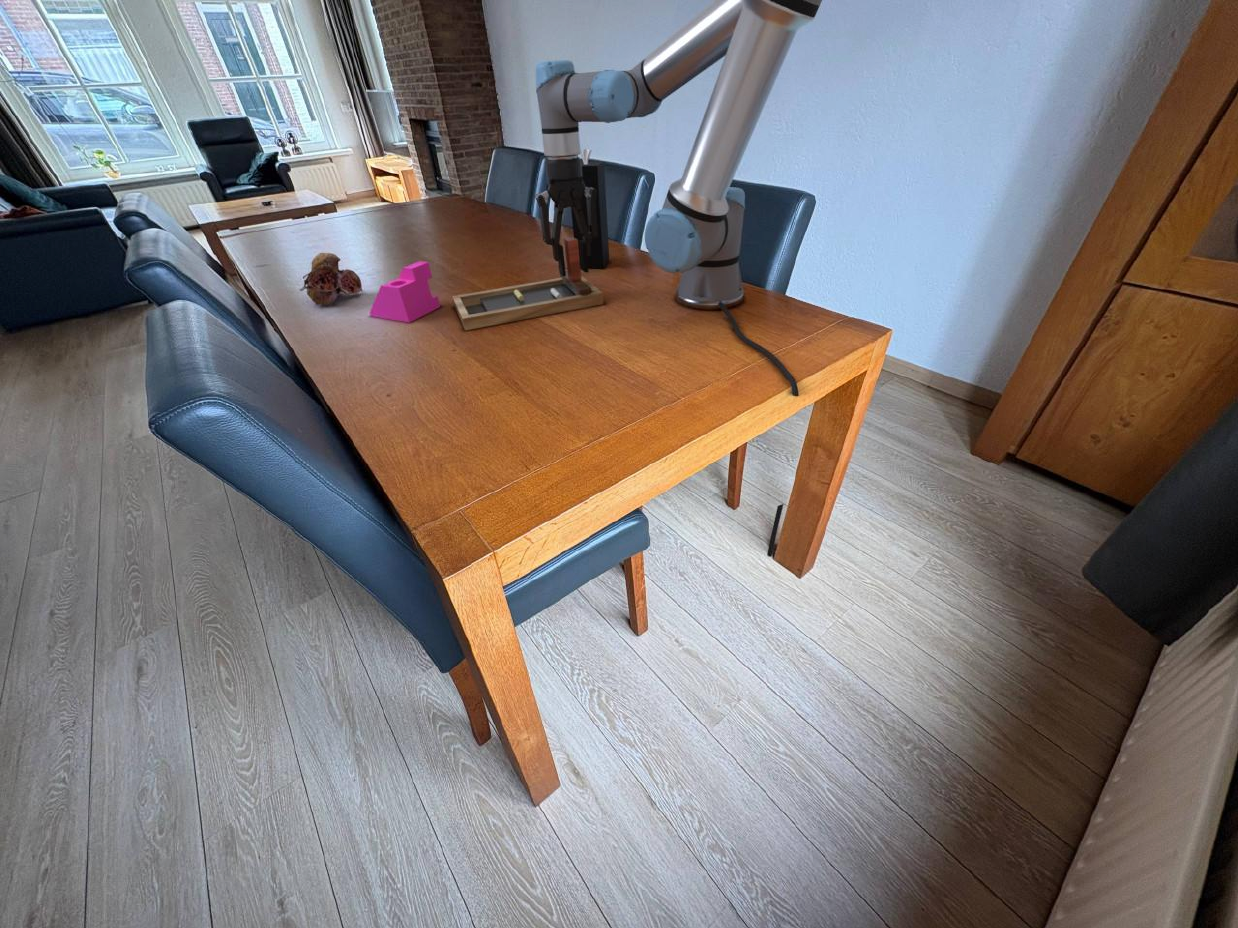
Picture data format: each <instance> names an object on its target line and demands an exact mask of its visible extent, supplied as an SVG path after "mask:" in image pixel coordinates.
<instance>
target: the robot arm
mask: <svg viewBox="0 0 1238 928" xmlns="http://www.w3.org/2000/svg"><path fill="white" fill-rule="evenodd" d="M822 2H823V0H714V1H712V3H710V4H709V5H708V6H707V7H706V8H704V9H703V10H702V11H701V12H700V13H698V14H697V15H696V16H695V17H694V18H692V19H691V20H690V21H689V22H687V23H686V24H685V25H684V26H683V27H681V28H680V29H679V30H678V31H676V32H675V33H674V34H673V35H672V36H670V37H669V38H668V39H667V40H665V41H664V42H663V43H662V44H660V45H659V46H658V47H657V48H655V49H654V50H653V51H652V52H650V54H648V55H647V56H646V57H645V58H644V59H643V60H641V61H639V62H638V64H636V65H635V66H634V67H632V68H631V69H629V70H615V69H604V70H599V71H590V72H589V71H588V72H580V73H579V72H576V71H575V65H574V63H573V61H571V60H551V61H550V60H547V61H540V62H538V63H537V64H536V65H535V71H534V72H535V86H536V87H535V93H536V98H537V103H538V111H539V119H540V126H541V137H542V145H543V154H544V156H545V157H547V158H546V159H545V161H544V163H545V172H546V180H547V181H546V182H547V185H546V188H545V190H544V191H542V192H540V193H536V194H535V195H534V198H535V200H536V203H537V205H538V209H539V218H540V225H541V233H542V241H543V243H545V244H546V245H549V246H551V249H552V257H553V260H554V261H555V262H557V265H558V271H559V275H560V274H561V275H562V276H566V271H567V270H566V264H565V263H566V261H565V254H564V253H565V251H564V246H563V245H562V244H561V235H562V234H561V233H562V224H563V215H564V212H565V209H567V208H571V207H572V209H573V210H574V213H575V217H576V220H577V223H578V226H579V229H580V232H581V236H582V238H583V240H581V241H579V243H580V254H581V266H582V268H581V270H582V271H583V272H584V273H589V268H588V258H587V256H590V255H591V247H590V242H591V241H592V239H593V238H596V237H597V236H598V232H597V218H596V204H595V200H596V195H597V190H596V189H594V188H592V187H590V188H589V187H585V184H584V182H583V177H582V163H581V162H582V158H581V156H579V155H581V154H580V153H581V149H582V148H581V141H580V139H581V138H580V128H579V127H580V125H579V123H605V124H610V123H616V122H623V121H624V120H626V119H630V118H631V119H632V118H645V117H647V116H649V115H652V114H654V113H656V112H657V111H658V110H659V108H660V107H661V105H662V102H663V101H664V100H665V99H667V98H668V97H670V96H671V95H673V94H674V93H675V92H676V91H679V89H680V88H682V87H684V86H685V85H686V84H689V82H690V81H692V80H693V79H695V78H696V77H698V76H699V75H700V74H702V73H703V72H705V71H706V70H708V69H709V68H710V67H712V66H713V65H715V64H716V63H717V62H719V61H721V59H723V58H724V59H723V62H722V64H721V67H720V70H719V72H718V75H717V78H716V81H715V84H714V86H713V89H712V93H711V95H710V98H709V100H708V104H707V106H706V109H705V111H704V115H703V117H702V120H701V123H700V126H699V129H698V131H697V134H696V136H695V139H694V142H693V144H692V148H691V150H690V154H689V156H688V159H687V162H686V165H685V167H684V170H683V173H682V176H681V177H680V178H679V179H677V180H675V181H673V182H672V183H671V184H670V185H669V188H668V190H667V193H666V196H665V199H664V202H663V205H662V208H661V209H659V210H658V211H656V212H654V213H653V215H652V216H651V217H650V218H649V220H648V222H647V224H646V225H645V231H644V244H645V248H646V250H647V251H648V254H649V257H650V259H651V261H652V262H653V263H654V264H655V265H656V266H657V267H658V268H659V269H661V270H662V271H664V272H667V273H669V274H681V273H682V274H681V276H680V279H679V282H678V284H677V286H676V290H675V292H676V301H677V302H678V303H680V304H681V305H682V306H685V307H688V308H691V309H695V310H706V311H707V310H712V311H713V310H714V311H715V310H716V311H717V310H722V312H723V313H724V315H725V316H726V318H727V319H728V320H729V322H730V324H731V325H732V328H733V330H734V332H735V334H736V336H737V337H738V339H739V340H741V341H742V342H743V343H744V344H746V345H748V346H749V347H751V348H753V349H754V350H756V351H758V352H760V353H761V354H763V355H764V356H765V357H767V358H768V359H769V360H770V361H771V362H772V363H773V364H774V365H775V366H776V367H777V368H778V370H779V371H780V372H781V374H782V375H783V376H784V378H786V379H787V380H788V381H789V383H790V387H791V394H792V396H793V397H799V387H798V383H797V381H796V378H795V377H794V376H793V375H792V374H791V373H790V372H789V370H788V369H787V368H786V366H785V365H784V364H783V363H782V362H781V360H780V359H778V358H777V357H776V356H775V355H774V354H773V353H772V352H771V351H770V350H768V349H767V348H765V347H763V346H762V345H760V344H758V343H757V342H755V341H753V340H751V339H750V338H748V337H747V336H746V335H744V334H743V332H742V331H741V330H740V328H739V325H738V323H737V321H736V319H735V318H734V316H733V315H732V314H731V312H730V311H729V308H733V307H736V306H738V305H739V304H741V303H742V302H743V300H744V294H745V293H744V292H745V290H744V285H743V281H742V275H741V269H740V267H739V266H740V265H739V262H740V253H741V242H742V233H743V224H744V216H745V209H746V202H745V201H746V195H745V194H746V193H745V191H744V190H743V188H740V187H735V186H734V187H733V186H732V187H731V185H732V182H733V180H734V177H735V176H736V173H737V171H738V169H739V166H740V164H741V162H742V160H743V157H744V154H745V152H746V150H747V148H748V145H749V143H750V141H751V138H752V136H753V133H754V131H755V129H756V127H757V124H758V122H759V121H760V120H759V119H760V118H761V115H762V113H763V111H764V109H765V106H766V104H767V102H768V100H769V97H770V94H771V92H772V90H773V88H774V85H775V84H776V81H777V79H778V76H779V74H780V71H781V69H782V67H783V64H784V62H785V60H786V57H787V55H788V53H789V51H790V48H791V46H792V43H793V41H794V39H795V37H796V34H797V32H798V31H799V30H800V29H802V28H803V27H804V26H806V25H808V24H810V23H811V22H813V21H814V20H815V17H816V15H817V13H818V11H819V10H820V9H819V8H820V6H821V4H822ZM584 192H585V197H586V198H587V213H588V225H589V232H588V228H587V225H586V222H585V219H584V215H583V212H582V207H581V203H580V199H581V197H582V195H583V193H584ZM549 198H550V200H552V202H553V203H554V204H553V221H552V228H551V227H550V219H549V218H550V217H549V209H548V203H549ZM551 229H552V230H551ZM783 509H784V503H782V504H779V505H777V507H776V512H775V517H774V520H773V525H772V529H771V534H770V539H769V543H768V547H767V548H768V549H767V553H766V555H767V557H769V558H770V557H772V556H773V552H774V547H775V543H776V538H777V533H778V530H779V525H780V521H781V516H782V512H783Z"/></svg>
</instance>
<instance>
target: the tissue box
mask: <svg viewBox="0 0 1238 928" xmlns="http://www.w3.org/2000/svg"><path fill="white" fill-rule="evenodd" d="M580 149H581V153H580V154H579V155H580V158H581V163H582V177H583V182H584V184H585V187H589V188H590V187H592V188H594V189H596V190H597V195H596V200H595V204H596V218H597V232H598V236H597V237H596V238H593V239H592V241H591V242H590V247H591V255H590V256H587V258H588V269H604V268H605V267H606V266H607V265H608V263H609V262H610V247H609V245H610V244H609V229H608V226H609V225H608V212H607V211H608V209H607V191H606V174H605V171H606V170H605V169H606V168H605V161H589V160H590V156H591V153H592V149H587V148H585V149H584V148H580ZM580 203H581V207H582V212H583V215H584V219H585V222H586V225H587V228H588V232H589V225H588V213H587V198H586V197H585V192H584V193H583V195H582V197H581V199H580ZM570 209H571V221H572V222H571V223H572V232H573V237H574V238H576V239H577V240H578V247H579V259H580V269H582V266H581V254H580V243H579V241H581V240H583V238H582V236H581V232H580V229H579V226H578V223H577V220H576V217H575V213H574V210H573V209H572V207H570Z"/></svg>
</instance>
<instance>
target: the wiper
mask: <svg viewBox="0 0 1238 928" xmlns="http://www.w3.org/2000/svg"><path fill="white" fill-rule="evenodd" d="M563 245H564V253H565V254H564V255H565V263H566V264H565V265H566V270H565V271H566V276H562V275H561V274H560V273H559V276H560V277H559V278H562V279H563V283H564V284H565V285H566V286H567V287H568V288H569V289H570V290H571V291H572V292H574V293H575V294H576V295H582V294H588V293H591V287H590V286H588V285H587V284H586V283H585V282H584V281H582V280H581V276H582V272H581V270H582V269H581V268H580V259H579V247H578V240H577V239H576V238H574V236H571V237H564V238H563Z"/></svg>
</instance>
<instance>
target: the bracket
mask: <svg viewBox="0 0 1238 928" xmlns="http://www.w3.org/2000/svg"><path fill="white" fill-rule="evenodd" d="M431 279H433V276H432V271H431V267H430V263H429V262H428V261H420V260H419V261H417V262H414V263H412V264H410V265H407V266H404V267H403V268H402V270H401V271H400V274H399V276H398V278H396V279H393V280H391V281H389V282H387V283H384V284H382V285H380V287H379V289H378V292H377V294H376V296H375V299H374V302H373V304H372V306H371V309H370V310H369V315H370V317H373V318H374V317H375V318H380V319H386V320H391V321H398V322H403V323H404V322H405V323H409V324H410V323H411V322H413V321H415V320H417V319H419V318H421V317H423V316H425V315H428V314H429V313H431V312H434V311H436V310H437V309H439V308H440V307H441V304H440V300H439V296H438V295H432V292H431V287H430V284H429V280H431Z"/></svg>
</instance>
